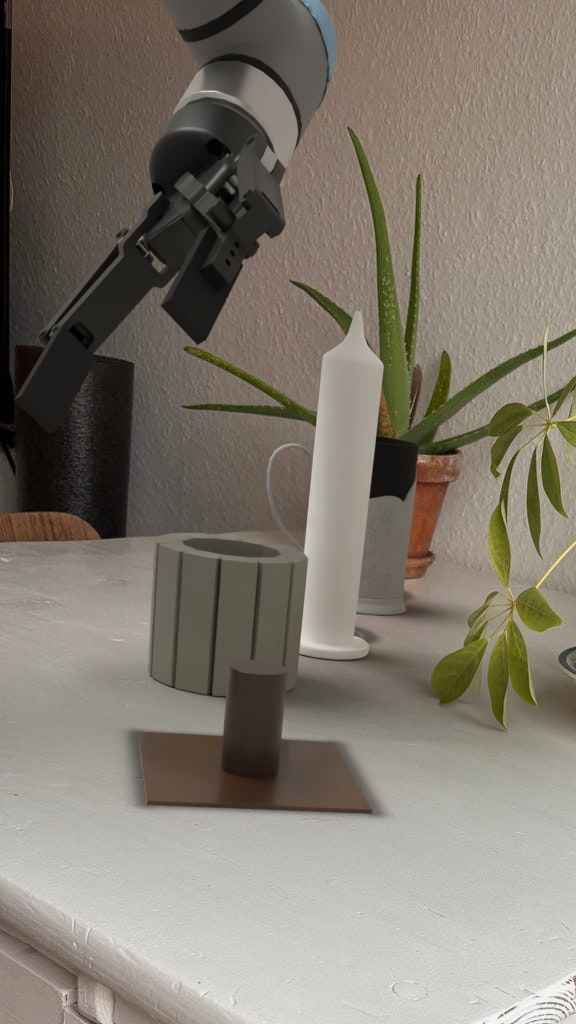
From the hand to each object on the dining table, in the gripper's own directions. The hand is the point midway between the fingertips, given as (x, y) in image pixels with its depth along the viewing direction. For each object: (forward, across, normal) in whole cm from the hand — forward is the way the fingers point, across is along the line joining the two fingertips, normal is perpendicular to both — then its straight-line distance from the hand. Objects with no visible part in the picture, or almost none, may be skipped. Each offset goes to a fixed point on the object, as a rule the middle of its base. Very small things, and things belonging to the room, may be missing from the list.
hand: (105, 372), depth 72 cm
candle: (-8, +13, -30) cm, 33 cm away
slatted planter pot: (+3, +10, -20) cm, 23 cm away
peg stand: (+20, -6, -15) cm, 26 cm away
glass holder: (-22, +24, -36) cm, 49 cm away
